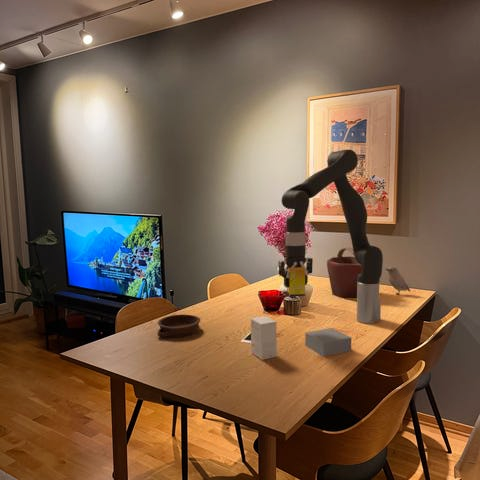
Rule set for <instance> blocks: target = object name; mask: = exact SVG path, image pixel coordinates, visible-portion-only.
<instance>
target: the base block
mask: <svg viewBox="0 0 480 480" xmlns="http://www.w3.org/2000/svg"><path fill="white" fill-rule="evenodd" d="M304 336H305V337H304V339H305V340H304V342H305V343H304V344H305V345H304V346H306V347H307V348H309V349H311V350H312V351H314V352H316V353H317V354H319V355H320V356H322V357H329V356H333V355H337V354H342V353H347V352H352V337H351V336H349V335H347V334H345V333H343V332H341V331H339V330H337V329H335V328H333V327H329V328H324V329H318V330H313V331H309V332H307V331H306V332H305V334H304Z"/></svg>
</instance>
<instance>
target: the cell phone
mask: <svg viewBox="0 0 480 480" xmlns="http://www.w3.org/2000/svg"><path fill="white" fill-rule="evenodd" d="M240 343H245V344H250V343H251V331H250V332H249V333H248V334H247V335H246V336H245V337H243V338H242V339H241V341H240Z"/></svg>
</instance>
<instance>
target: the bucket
mask: <svg viewBox="0 0 480 480" xmlns="http://www.w3.org/2000/svg"><path fill="white" fill-rule="evenodd" d="M346 250H347V251H348V252H350V253H351V254H352V255H353V256H350V255H349V256H343V254H344V252H345V251H346ZM326 268H327V269H326V270H327V272H328V278H329V283H330V289H331V294H332V296H335V297H337V298H339V299H340V298H341V299H352V300H353V299H354V300H355V299H356V300H357V277H358V275H359V274H362V272H363V265H361V264H359V263H358V262H357V261H356V259H355V256H354V252H353V247H352V248H351V247H343V248H341V249H339V250H338V251H337V255H336V256H335V257H330V258H328V260H326Z"/></svg>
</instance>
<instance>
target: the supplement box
mask: <svg viewBox="0 0 480 480" xmlns="http://www.w3.org/2000/svg"><path fill="white" fill-rule="evenodd" d="M305 268H306V267H305ZM305 268H304V267H295V268H289V267H288V270H290V272H289V285H290V287H288V288H287V287H286V293H287V294H288V295H289V297H305V296H306V285H305Z"/></svg>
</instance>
